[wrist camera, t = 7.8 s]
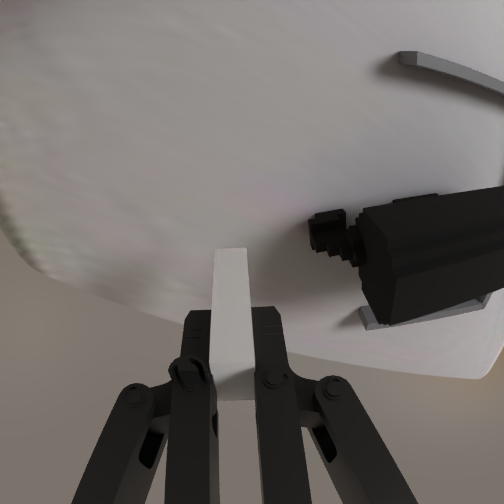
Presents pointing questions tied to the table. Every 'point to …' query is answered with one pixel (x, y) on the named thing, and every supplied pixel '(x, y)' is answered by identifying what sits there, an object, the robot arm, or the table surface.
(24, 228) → the table surface
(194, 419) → the robot arm
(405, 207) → the security camera
